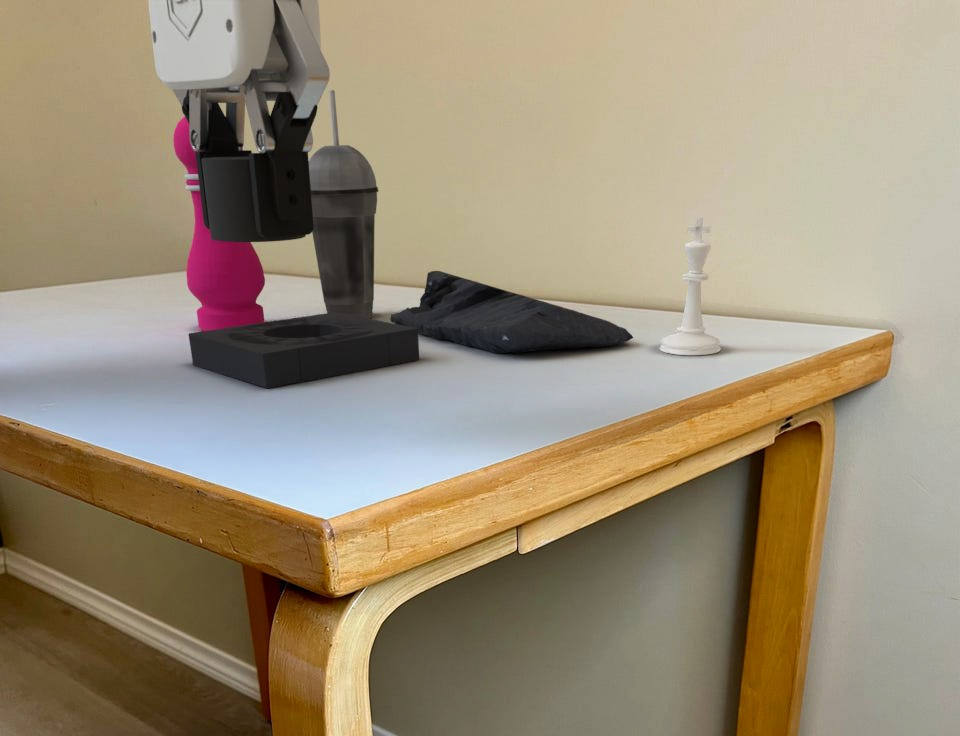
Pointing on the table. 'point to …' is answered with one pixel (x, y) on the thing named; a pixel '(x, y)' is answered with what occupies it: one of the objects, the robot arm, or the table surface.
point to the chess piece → (693, 303)
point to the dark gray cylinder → (232, 200)
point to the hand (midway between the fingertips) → (257, 228)
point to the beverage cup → (344, 224)
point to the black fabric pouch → (502, 319)
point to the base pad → (303, 348)
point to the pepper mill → (218, 261)
